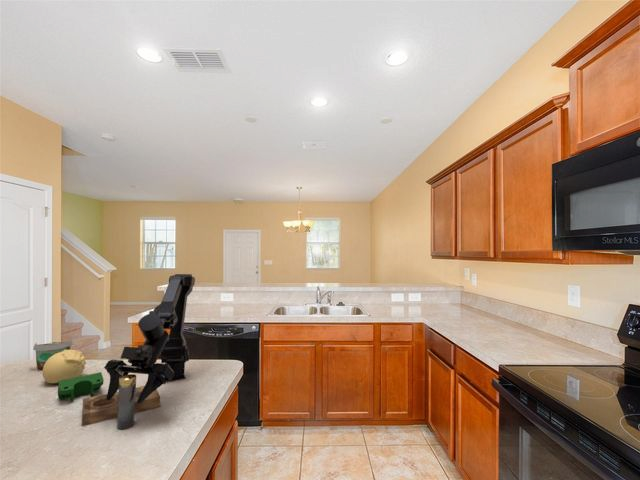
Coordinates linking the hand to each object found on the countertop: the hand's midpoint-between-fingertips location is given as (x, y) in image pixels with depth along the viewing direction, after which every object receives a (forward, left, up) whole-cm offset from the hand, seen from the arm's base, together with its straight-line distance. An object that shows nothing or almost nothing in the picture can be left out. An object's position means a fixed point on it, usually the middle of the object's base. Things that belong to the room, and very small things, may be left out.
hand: (122, 401), depth 84 cm
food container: (+19, -64, -7) cm, 67 cm away
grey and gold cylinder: (-1, -1, -7) cm, 7 cm away
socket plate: (-1, -13, -7) cm, 15 cm away
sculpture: (+14, -47, -7) cm, 50 cm away
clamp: (+9, -28, -7) cm, 31 cm away
